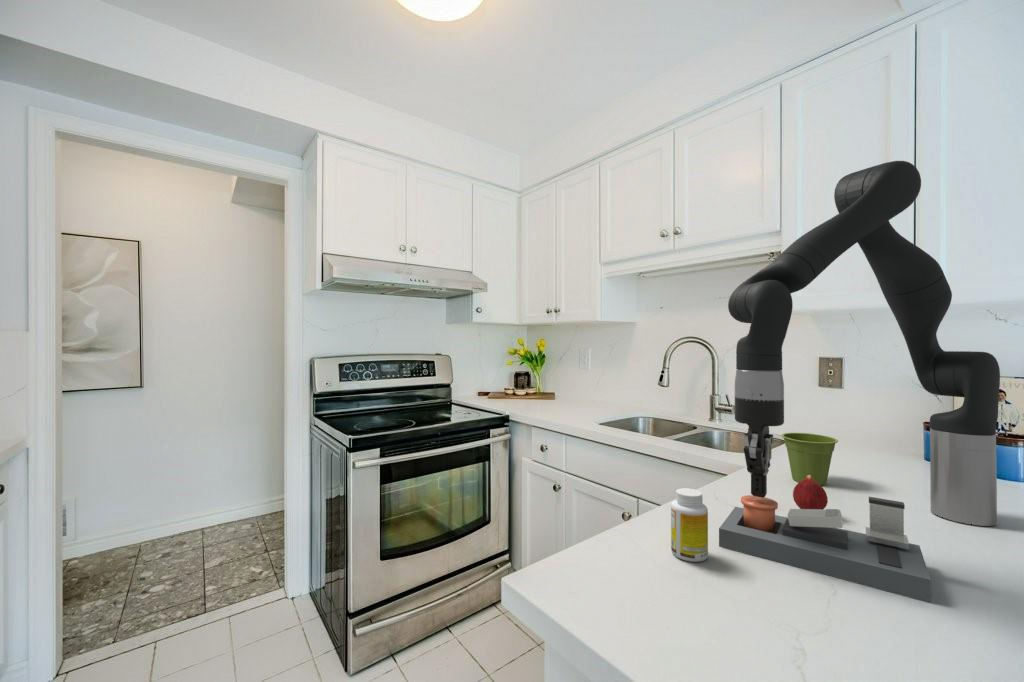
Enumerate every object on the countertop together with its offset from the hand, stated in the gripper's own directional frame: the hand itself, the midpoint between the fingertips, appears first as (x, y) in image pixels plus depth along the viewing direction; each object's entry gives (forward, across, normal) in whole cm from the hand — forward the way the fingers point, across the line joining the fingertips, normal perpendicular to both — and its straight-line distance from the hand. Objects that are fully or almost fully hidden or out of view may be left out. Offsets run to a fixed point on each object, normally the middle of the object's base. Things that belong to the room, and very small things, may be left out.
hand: (758, 495), depth 76 cm
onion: (+8, +20, -6) cm, 22 cm away
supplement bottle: (+8, -13, +8) cm, 17 cm away
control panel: (+8, 0, -8) cm, 11 cm away
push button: (+5, 0, 0) cm, 5 cm away
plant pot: (+8, +47, -4) cm, 48 cm away
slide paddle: (+4, +4, -17) cm, 18 cm away
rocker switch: (+2, 0, -8) cm, 8 cm away
